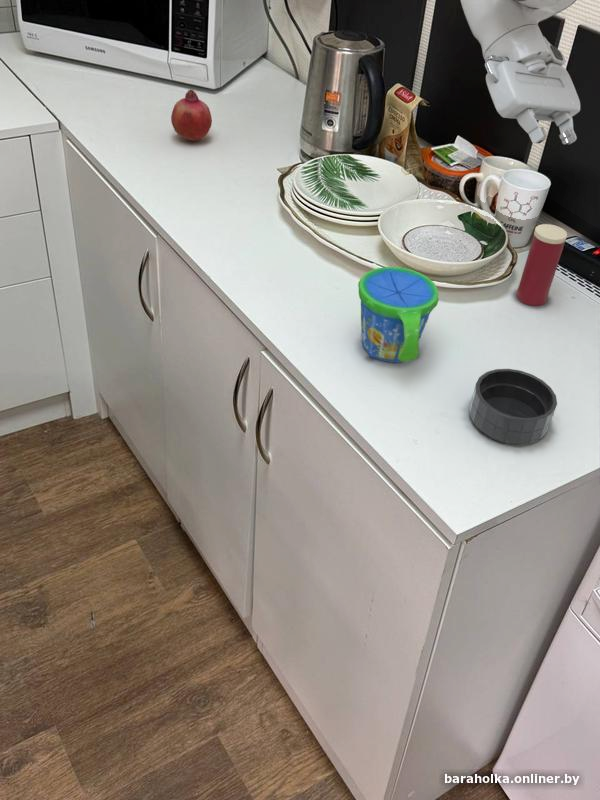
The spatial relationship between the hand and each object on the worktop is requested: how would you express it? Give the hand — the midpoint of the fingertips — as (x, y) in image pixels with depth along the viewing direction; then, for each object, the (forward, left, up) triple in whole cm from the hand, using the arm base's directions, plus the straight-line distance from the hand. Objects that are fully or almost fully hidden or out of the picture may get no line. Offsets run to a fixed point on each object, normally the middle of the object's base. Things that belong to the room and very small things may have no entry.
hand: (556, 141), depth 120 cm
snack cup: (+36, +1, -21) cm, 42 cm away
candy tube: (+8, +7, -21) cm, 23 cm away
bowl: (+36, +21, -21) cm, 46 cm away
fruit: (+12, -71, -21) cm, 75 cm away
